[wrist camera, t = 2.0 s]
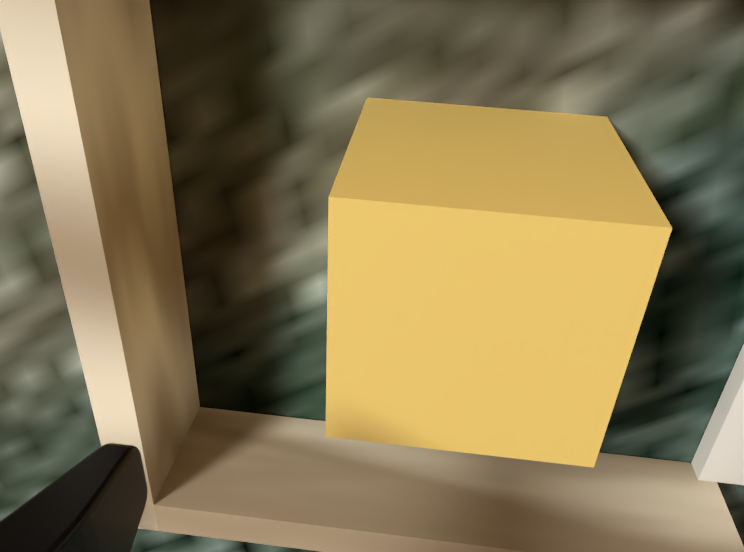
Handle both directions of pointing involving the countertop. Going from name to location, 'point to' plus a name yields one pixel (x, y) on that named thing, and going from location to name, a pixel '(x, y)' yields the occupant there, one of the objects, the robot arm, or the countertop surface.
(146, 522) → the bracket
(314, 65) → the countertop surface
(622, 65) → the countertop surface
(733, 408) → the mat
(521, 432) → the block
